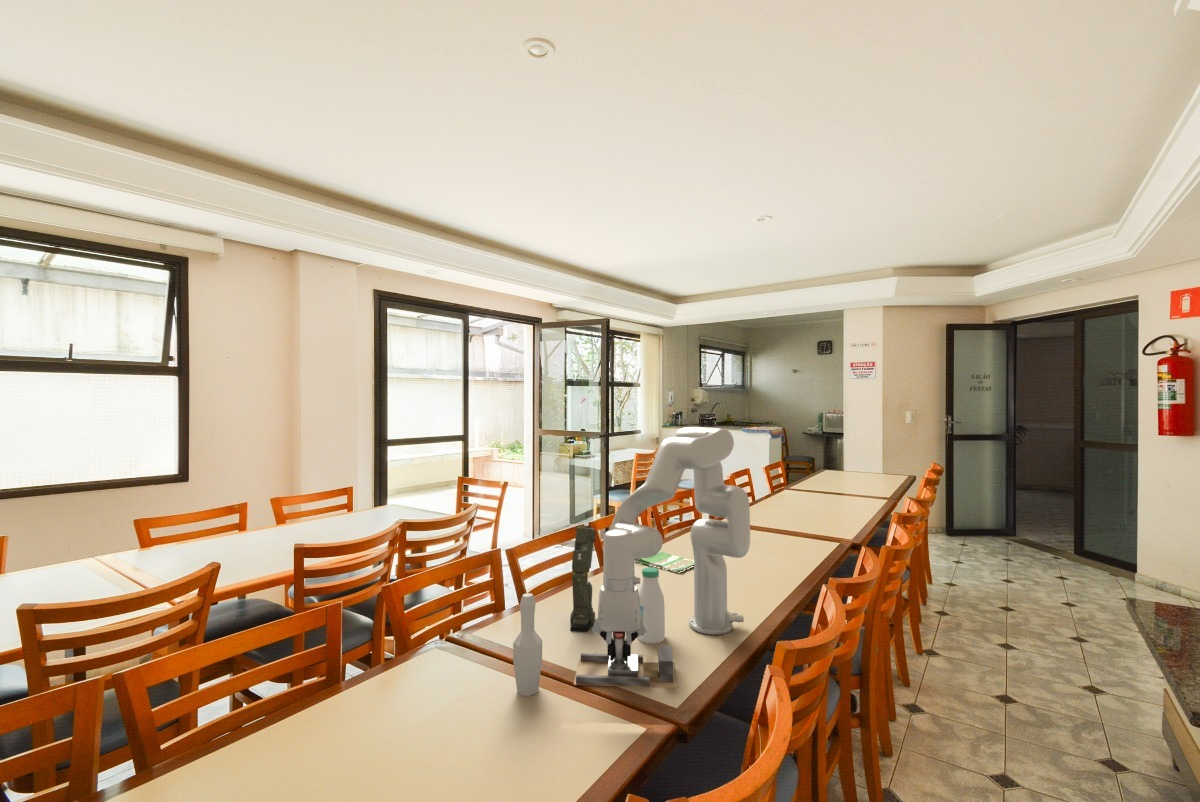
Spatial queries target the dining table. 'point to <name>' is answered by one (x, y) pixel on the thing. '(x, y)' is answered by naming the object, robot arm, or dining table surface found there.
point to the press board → (596, 673)
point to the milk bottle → (652, 607)
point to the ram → (622, 658)
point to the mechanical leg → (582, 580)
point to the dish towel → (671, 560)
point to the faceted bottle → (527, 650)
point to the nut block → (650, 666)
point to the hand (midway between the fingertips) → (619, 658)
